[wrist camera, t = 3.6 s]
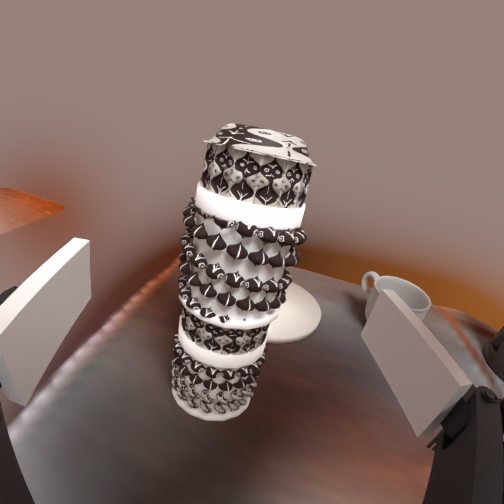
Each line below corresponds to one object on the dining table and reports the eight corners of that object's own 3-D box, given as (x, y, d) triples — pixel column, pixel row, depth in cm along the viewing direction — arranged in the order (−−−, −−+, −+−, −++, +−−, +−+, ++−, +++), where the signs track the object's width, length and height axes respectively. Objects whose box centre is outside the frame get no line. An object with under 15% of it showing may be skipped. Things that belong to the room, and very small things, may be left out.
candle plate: (340, 336, 42) (343, 330, 42) (218, 348, 35) (219, 341, 34) (287, 276, 58) (289, 271, 58) (191, 274, 51) (192, 267, 50)
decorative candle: (157, 413, 24) (184, 113, 15) (177, 352, 32) (211, 122, 23) (253, 431, 24) (347, 148, 15) (254, 368, 33) (316, 144, 24)
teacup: (422, 343, 43) (442, 305, 41) (382, 353, 40) (404, 309, 37) (378, 302, 55) (392, 267, 52) (337, 304, 51) (352, 265, 49)
